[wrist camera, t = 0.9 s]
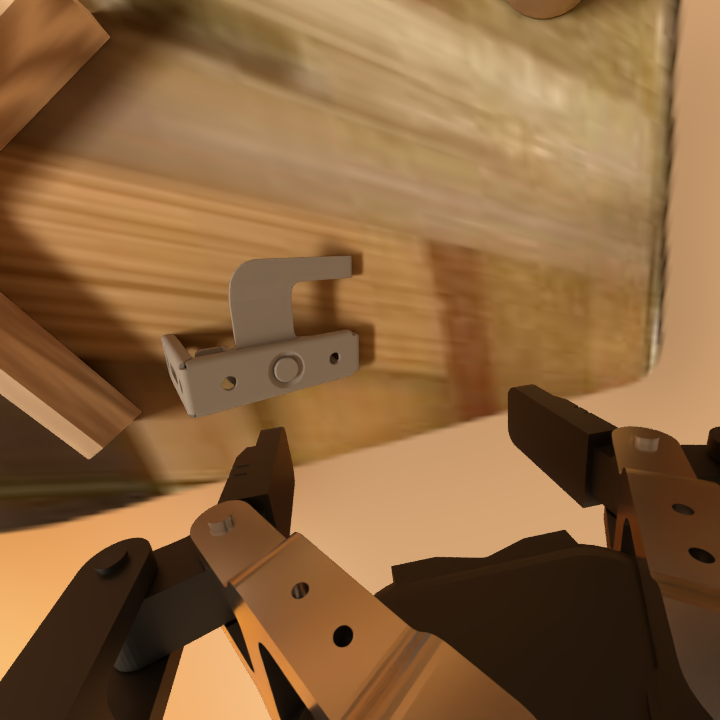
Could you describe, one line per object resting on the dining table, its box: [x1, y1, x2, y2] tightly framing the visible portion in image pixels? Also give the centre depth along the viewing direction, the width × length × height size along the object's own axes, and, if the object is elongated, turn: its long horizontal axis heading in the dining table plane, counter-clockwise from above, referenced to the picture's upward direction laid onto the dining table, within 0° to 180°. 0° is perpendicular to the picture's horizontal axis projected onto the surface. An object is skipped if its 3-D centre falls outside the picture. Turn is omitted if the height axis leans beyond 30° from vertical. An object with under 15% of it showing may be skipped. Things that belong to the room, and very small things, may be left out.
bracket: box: [161, 256, 359, 418], centre depth 30 cm, size 10×14×10 cm
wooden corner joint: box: [0, 0, 142, 459], centre depth 25 cm, size 24×22×6 cm
